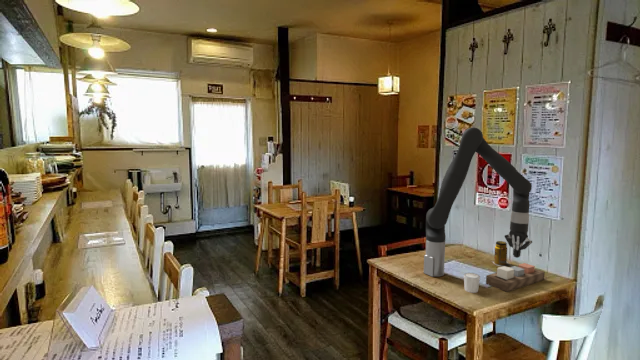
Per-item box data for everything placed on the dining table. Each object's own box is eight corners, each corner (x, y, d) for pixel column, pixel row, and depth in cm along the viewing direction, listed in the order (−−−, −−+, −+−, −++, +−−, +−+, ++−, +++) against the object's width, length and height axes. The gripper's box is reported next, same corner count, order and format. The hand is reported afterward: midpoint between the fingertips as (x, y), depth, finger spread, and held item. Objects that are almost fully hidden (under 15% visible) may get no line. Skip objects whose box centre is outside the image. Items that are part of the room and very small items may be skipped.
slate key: (517, 279, 177) (517, 271, 177) (507, 275, 182) (508, 267, 181) (523, 277, 180) (524, 269, 179) (514, 273, 184) (514, 265, 184)
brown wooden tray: (507, 292, 169) (507, 283, 169) (485, 283, 179) (486, 275, 178) (544, 279, 183) (544, 271, 183) (522, 272, 193) (522, 265, 192)
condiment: (491, 261, 209) (492, 240, 208) (506, 261, 209) (507, 240, 208) (497, 266, 202) (498, 244, 201) (513, 266, 202) (514, 244, 201)
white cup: (460, 287, 175) (461, 272, 174) (474, 286, 176) (475, 272, 175) (467, 293, 168) (468, 278, 167) (482, 293, 169) (483, 277, 168)
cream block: (506, 279, 173) (507, 271, 173) (496, 276, 178) (497, 267, 177) (513, 277, 176) (514, 269, 175) (503, 274, 180) (504, 266, 180)
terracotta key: (527, 276, 181) (528, 267, 181) (517, 272, 186) (518, 264, 185) (534, 274, 184) (534, 266, 183) (524, 270, 188) (524, 263, 187)
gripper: (501, 218, 181) (498, 254, 183) (528, 225, 170) (525, 262, 172) (511, 217, 185) (508, 252, 187) (538, 223, 173) (535, 260, 175)
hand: (516, 257), depth 179 cm, fingers closed
